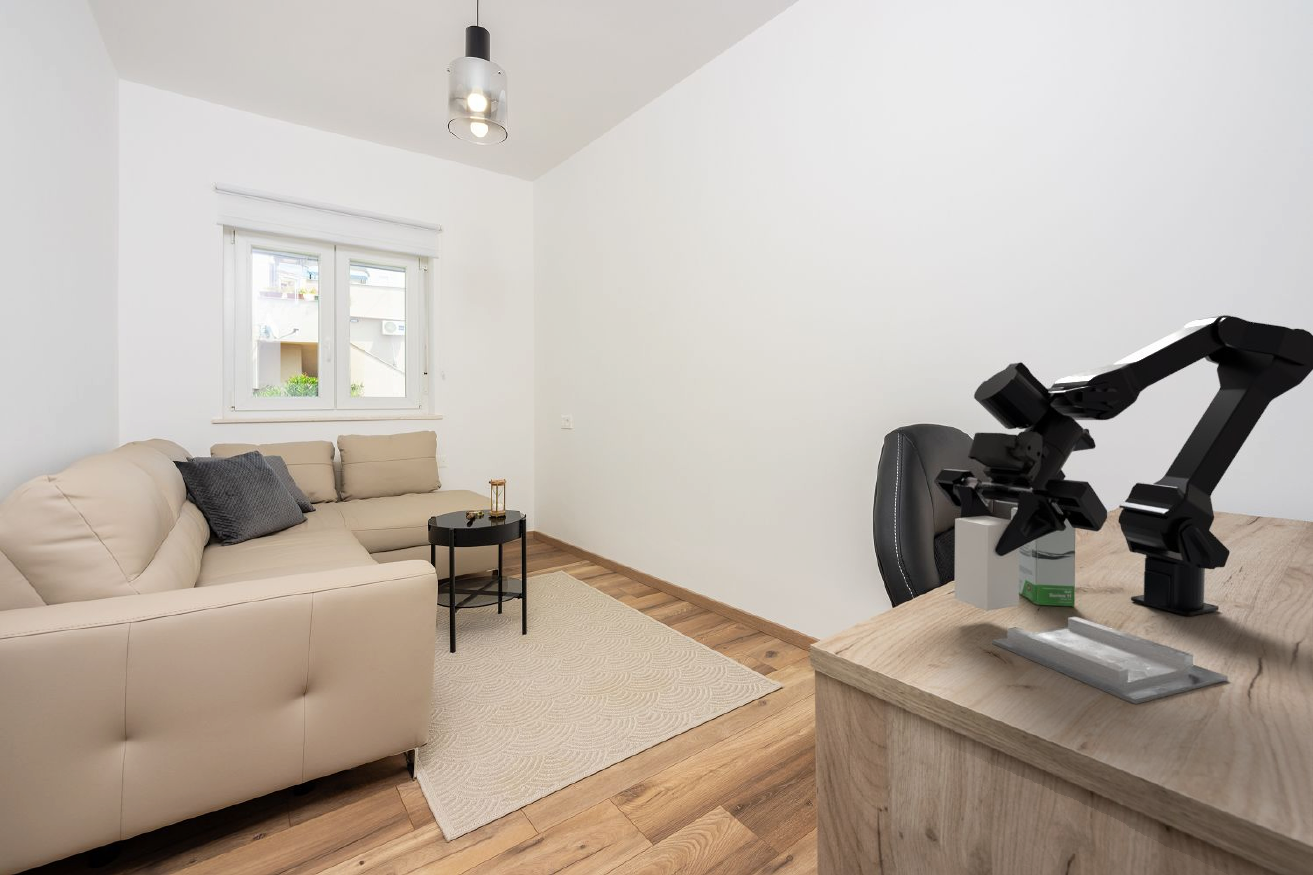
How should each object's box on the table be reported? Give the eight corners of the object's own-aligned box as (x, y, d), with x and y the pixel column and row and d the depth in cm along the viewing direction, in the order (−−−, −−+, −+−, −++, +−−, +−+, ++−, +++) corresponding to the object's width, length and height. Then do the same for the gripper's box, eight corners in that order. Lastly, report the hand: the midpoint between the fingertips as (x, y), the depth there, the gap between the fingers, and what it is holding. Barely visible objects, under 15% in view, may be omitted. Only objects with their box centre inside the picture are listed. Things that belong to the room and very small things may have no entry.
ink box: (1076, 607, 74) (1078, 517, 73) (1034, 605, 75) (1036, 516, 74) (1045, 588, 82) (1046, 506, 82) (1008, 586, 83) (1009, 506, 83)
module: (985, 593, 72) (985, 515, 71) (1018, 605, 67) (1019, 522, 67) (954, 598, 70) (955, 518, 70) (986, 610, 66) (987, 525, 65)
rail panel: (1076, 628, 67) (1076, 609, 67) (1227, 680, 54) (1228, 657, 53) (992, 643, 63) (993, 623, 62) (1134, 704, 49) (1135, 679, 49)
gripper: (944, 410, 78) (882, 495, 74) (1092, 407, 61) (1023, 518, 57) (983, 464, 81) (927, 548, 77) (1135, 476, 64) (1072, 585, 60)
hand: (978, 549), depth 68 cm, fingers closed on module, 5 cm apart
